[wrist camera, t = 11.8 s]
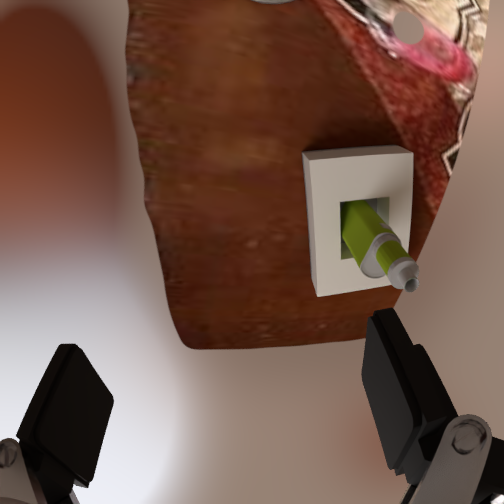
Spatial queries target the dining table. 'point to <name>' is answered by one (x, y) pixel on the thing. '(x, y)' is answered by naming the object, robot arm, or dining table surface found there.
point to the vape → (376, 246)
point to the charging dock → (348, 189)
